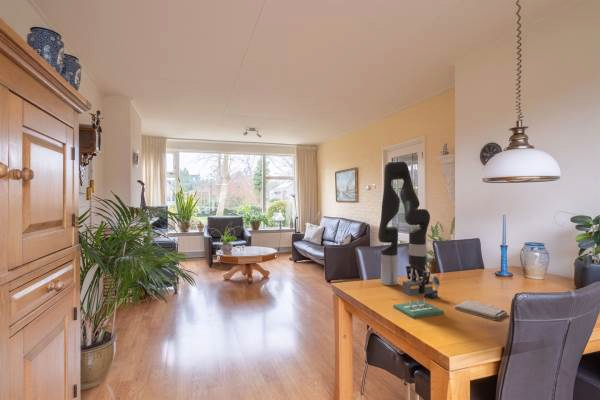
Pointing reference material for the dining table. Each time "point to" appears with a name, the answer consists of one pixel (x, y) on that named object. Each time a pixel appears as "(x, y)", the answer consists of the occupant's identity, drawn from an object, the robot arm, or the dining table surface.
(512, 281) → the dining table surface
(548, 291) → the dining table surface
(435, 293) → the watch
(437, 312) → the board
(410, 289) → the grey rectangular block
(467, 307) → the washcloth
